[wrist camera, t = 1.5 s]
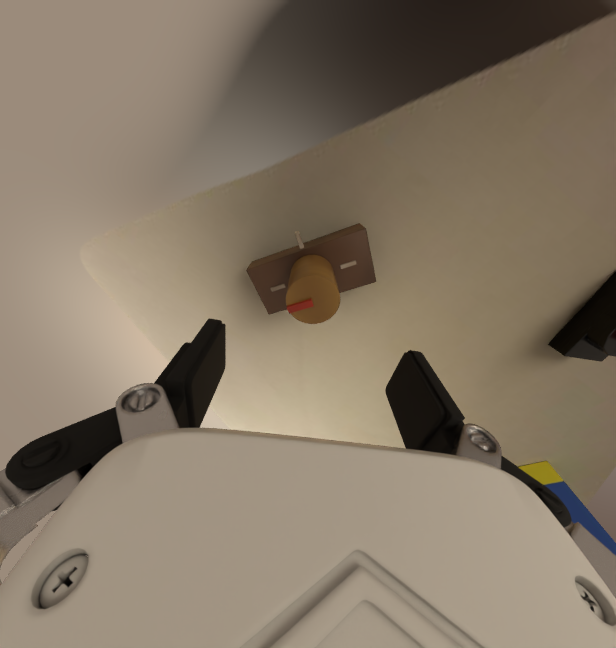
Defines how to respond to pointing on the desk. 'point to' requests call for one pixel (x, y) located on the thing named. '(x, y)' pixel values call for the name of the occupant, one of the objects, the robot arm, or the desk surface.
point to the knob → (312, 290)
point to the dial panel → (337, 248)
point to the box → (569, 501)
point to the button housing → (591, 327)
